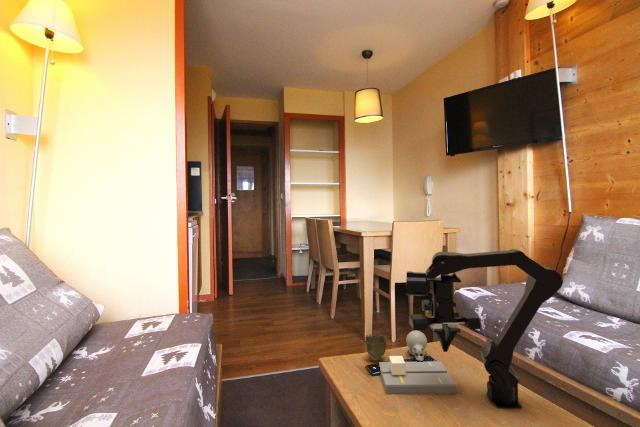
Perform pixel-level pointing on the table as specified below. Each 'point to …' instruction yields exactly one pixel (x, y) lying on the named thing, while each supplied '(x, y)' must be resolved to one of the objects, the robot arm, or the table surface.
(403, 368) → the fader cap
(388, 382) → the console board
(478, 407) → the table surface
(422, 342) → the chubby cartoon animal
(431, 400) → the table surface
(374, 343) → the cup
